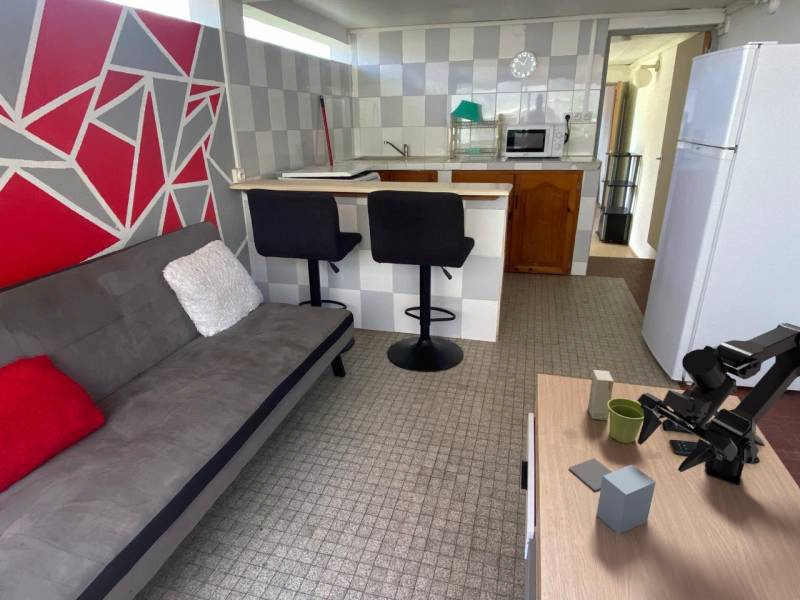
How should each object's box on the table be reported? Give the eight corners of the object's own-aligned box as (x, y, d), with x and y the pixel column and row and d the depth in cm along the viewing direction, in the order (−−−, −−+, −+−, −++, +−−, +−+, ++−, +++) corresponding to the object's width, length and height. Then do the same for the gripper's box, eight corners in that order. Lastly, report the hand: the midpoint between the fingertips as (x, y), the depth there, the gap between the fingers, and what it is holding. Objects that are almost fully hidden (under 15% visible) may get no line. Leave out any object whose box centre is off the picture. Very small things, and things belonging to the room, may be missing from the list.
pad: (594, 459, 112) (594, 458, 112) (621, 480, 105) (621, 479, 105) (568, 468, 109) (568, 467, 109) (594, 491, 102) (594, 490, 102)
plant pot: (636, 427, 124) (641, 399, 121) (647, 449, 115) (653, 420, 112) (599, 424, 126) (603, 396, 123) (607, 446, 117) (612, 416, 114)
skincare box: (608, 421, 127) (614, 381, 123) (591, 419, 128) (597, 380, 124) (603, 408, 133) (609, 370, 129) (587, 406, 134) (592, 368, 130)
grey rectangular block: (624, 502, 99) (631, 464, 96) (647, 521, 94) (655, 482, 91) (596, 514, 96) (602, 475, 93) (618, 534, 91) (626, 494, 88)
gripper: (651, 358, 98) (604, 415, 98) (743, 402, 82) (688, 470, 82) (669, 382, 104) (626, 437, 103) (759, 428, 88) (708, 492, 87)
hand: (658, 456), depth 94 cm, fingers open, 9 cm apart
